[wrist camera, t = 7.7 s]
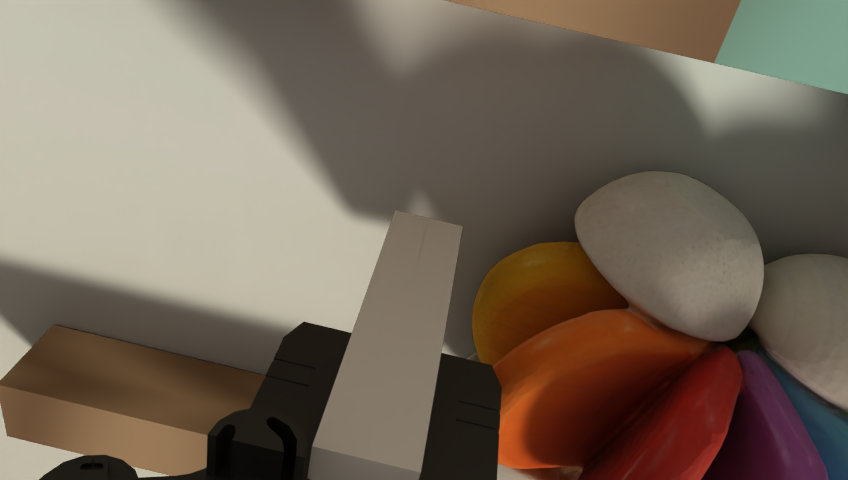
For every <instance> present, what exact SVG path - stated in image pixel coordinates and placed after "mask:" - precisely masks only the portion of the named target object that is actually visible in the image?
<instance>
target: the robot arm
mask: <svg viewBox="0 0 848 480" xmlns="http://www.w3.org/2000/svg"><path fill="white" fill-rule="evenodd" d="M462 228H463V226H460V225H455V224H451V223H447V222H443V221H438V220H434V219H430V218H426V217H422V216H417V215H413V214H409V213H405V212H401V211H396V210H395V212H394V215H393V218H392V221H391V224H390V227H389V229H388V232H387V235H386V238H385V241H384V244H383V247H382V249H381V252H380V255H379V258H378V261H377V264H376V266H375V269H374V272H373V275H372V278H371V281H370V283H369V286H368V289H367V292H366V295H365V298H364V300H363V303H362V306H361V309H360V312H359V315H358V317H357V320H356V323H355V326H354V329H353V332H352V333H349V332H345V331H340V330H336V329H332V328H328V327H324V326H320V325H315V324H311V323H307V322H303V323H302V324H300V325H299V326H298V327H296V328H295V329H294V330H293V331H291V332H290V333H289V334H287V335H286V336H285V337H284V338H283V340H282V342H281V345H280V347H279V349H278V351H277V353H276V355H275V357H274V360H273V362H272V363H271V365H270V367H269V369H268V372H267V374H266V377H265V379H264V380H263V382H262V384H261V386H260V388H259V390H258V392H257V394H256V396H255V398H254V401H253V403H252V405H251V407H250V408H249V409H244V410H239V411H235V412H233V413H231V414H229V415H228V416H226V417H224V418H222V419H221V420H219V421H218V422H217V423H216V424H215V426H214V427H213V428H212V429H211V430H210V432H209V433H208V435H207V467H206V468H204V469H202V470H199V471H196V472H193V473H190V474H184V475H177V476H164V477H145V478H138V476H137V474H136V471H135V469H133V468H132V467H131V466H130V465H128V464H127V463H126V462H125V461H124V460H122V459H118V458H115V457H111V456H108V455H85V456H81V457H78V458H75V459H72V460H69V461H66V462H63V463H62V464H60V465H59V466H57V467H56V468H54V469H53V470H51V471H50V472H48V473H47V474H45V475H44V476H43V477H42V478H41V479H39V480H497V470H498V450H499V430H500V411H501V393H502V387H501V385H500V382H499V380H498V378H497V376H496V373H495V371H494V369H493V367H492V365H490V364H486V363H481V362H477V361H473V360H469V359H465V358H461V357H456V356H452V355H448V354H444V353H441V351H442V346H443V340H444V334H445V328H446V322H447V316H448V310H449V304H450V299H451V293H452V287H453V281H454V275H455V269H456V263H457V257H458V252H459V246H460V240H461V234H462Z"/></svg>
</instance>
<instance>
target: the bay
mask: <svg viewBox="0 0 848 480" xmlns="http://www.w3.org/2000/svg"><path fill="white" fill-rule="evenodd" d="M445 1H450V2H454V3H458V4H462V5H467V6H471V7H475V8H480V9H484V10H488V11H492V12H497V13H501V14H505V15H510V16H514V17H518V18H523V19H527V20H531V21H535V22H540V23H544V24H548V25H553V26H557V27H561V28H565V29H570V30H574V31H578V32H583V33H587V34H591V35H595V36H600V37H604V38H608V39H613V40H617V41H621V42H626V43H630V44H634V45H638V46H643V47H647V48H651V49H656V50H660V51H664V52H668V53H673V54H677V55H681V56H686V57H690V58H694V59H698V60H703V61H707V62H711V63H716V64H720V65H724V66H729V67H733V68H737V69H741V70H746V71H750V72H754V73H759V74H763V75H767V76H771V77H776V78H780V79H784V80H789V81H793V82H797V83H801V84H806V85H810V86H814V87H819V88H823V89H827V90H832V91H836V92H840V93H844V94H848V0H445ZM265 377H266V376H265V375H261V374H256V373H252V372H248V371H244V370H240V369H236V368H231V367H227V366H223V365H219V364H215V363H211V362H206V361H202V360H198V359H194V358H190V357H186V356H182V355H177V354H173V353H169V352H165V351H161V350H157V349H152V348H148V347H144V346H140V345H136V344H132V343H128V342H123V341H119V340H115V339H111V338H107V337H103V336H98V335H94V334H90V333H86V332H82V331H78V330H74V329H69V328H65V327H61V326H57V325H53V326H52V327H51V328H50V329H49V330H48V331H47V332H46V333H45V334H44V335H43V336H42V337H41V338H40V340H39V341H38V342H37V343H36V344H35V345H34V346H33V347H32V348H31V349H30V350H29V351H28V352H27V353H26V354H25V355H24V356H23V357H22V358H21V359H20V360H19V362H18V363H17V364H16V365H15V366H14V367H13V368H12V369H11V370H10V371H9V372H8V373H7V374H6V375H5V376H4V377H3V378H2V379H1V380H0V403H1V408H2V413H3V418H4V423H5V428H6V432H7V436H10V437H14V438H18V439H22V440H26V441H30V442H34V443H38V444H43V445H47V446H51V447H55V448H59V449H63V450H67V451H71V452H75V453H80V454H84V455H108V456H111V457H115V458H118V459H122V460H124V461H125V462H126V463H127V464H128V465H130V466H133V467H137V468H141V469H145V470H150V471H154V472H158V473H162V474H166V475H170V476H177V475H184V474H190V473H193V472H196V471H199V470H202V469H204V468H206V467H207V435H208V433H209V432H210V430H211V429H212V428H213V427H214V426H215V424H216V423H217V422H218V421H219V420H221V419H222V418H224V417H226V416H228V415H229V414H231V413H233V412H235V411H239V410H244V409H249V408H250V407H251V405H252V403H253V401H254V398H255V396H256V394H257V392H258V390H259V388H260V386H261V384H262V382H263V380H264V379H265Z"/></svg>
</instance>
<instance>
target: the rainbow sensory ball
mask: <svg viewBox="0 0 848 480" xmlns="http://www.w3.org/2000/svg"><path fill="white" fill-rule="evenodd" d="M574 219H575V229H576V233H577V237H578V240H579V242H580V243H579V242H547V243H539V244H535V245H532V246H530V247H527V248H524V249H521V250H519V251H517V252H515V253H513V254H511V255H509V256H507V257H506V258H504V259H502V260H501V261H499V262H498V263H497V264H496V265H495V266H493V267H492V268H491V269H490V270H489V271H488V273H487V274H486V276H485V278H484V280H483V281H482V283H481V285H480V287H479V289H478V292H477V294H476V297H475V301H474V306H473V312H472V332H473V339H474V344H475V347H476V350H477V352H475V353H474V354H472V355H471V356H469V357H468V358H467V359H469V360H473V361H477V362H481V363H486V364H490V365H492V367H493V369H494V371H495V373H496V376H497V378H498V380H499V382H500V385H501V387H502V393H501V411H500V430H499V450H498V470H497V480H848V258H845V257H840V256H836V255H827V254H801V255H793V256H787V257H784V258H781V259H778V260H776V261H773V262H770V263H768V264H766V265H764V262H763V256H762V251H761V247H760V243H759V240H758V238H757V235H756V233H755V231H754V229H753V227H752V226H751V224H750V223H749V222H748V220H747V219H746V217H745V216H744V215H743V214H742V213H741V212H740V211H739V210H738V209H737V208H736V207H735V206H734V205H733V204H732V203H730V202H729V201H728V200H727V199H726V198H724V197H723V196H722V195H720V194H719V193H717V192H716V191H715V190H713V189H712V188H710V187H709V186H707V185H705V184H703V183H702V182H700V181H698V180H696V179H693V178H691V177H689V176H686V175H683V174H679V173H674V172H666V171H647V172H641V173H634V174H631V175H628V176H624V177H621V178H619V179H616V180H614V181H612V182H610V183H608V184H606V185H604V186H603V187H601V188H600V189H598V190H597V191H595V192H594V193H592V194H591V195H590V196H589V197H588V198H586V199H585V200H584V201H583V202H582V203H581V204H580V206H579V208H578V209H577V212H576V215H575V218H574Z"/></svg>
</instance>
